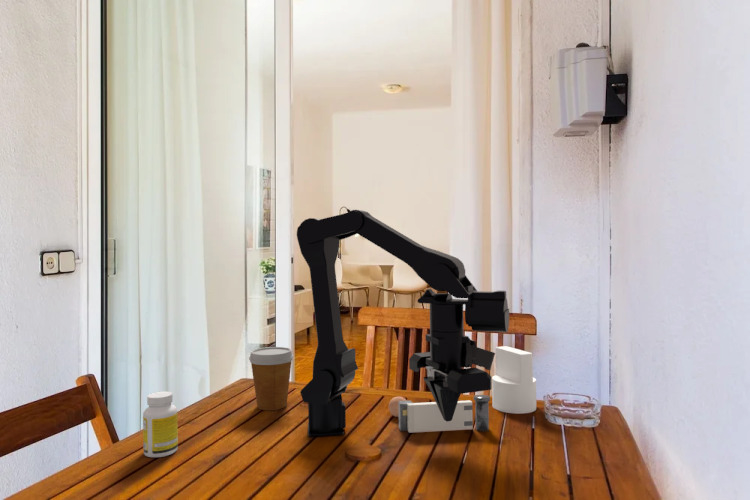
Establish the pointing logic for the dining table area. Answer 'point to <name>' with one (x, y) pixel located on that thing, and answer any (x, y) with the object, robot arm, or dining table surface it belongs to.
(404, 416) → the post
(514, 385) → the base with upright slab
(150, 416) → the supplement bottle
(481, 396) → the hinge post
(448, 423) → the long white bar
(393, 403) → the ball
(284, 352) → the disposable coffee cup
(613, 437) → the dining table surface
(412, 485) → the dining table surface
